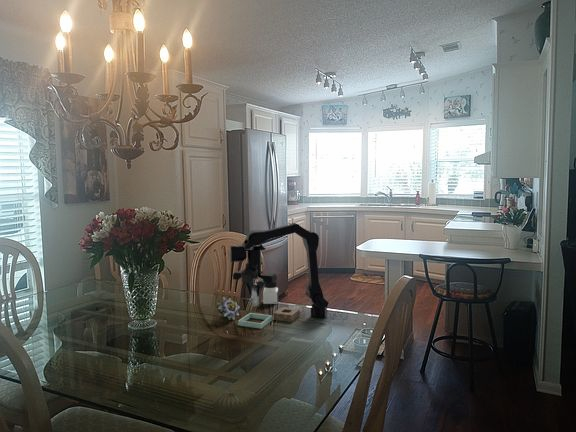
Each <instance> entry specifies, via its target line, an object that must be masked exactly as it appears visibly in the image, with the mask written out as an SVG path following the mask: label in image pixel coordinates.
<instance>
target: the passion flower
mask: <svg viewBox="0 0 576 432" xmlns="http://www.w3.org/2000/svg"><path fill="white" fill-rule="evenodd" d="M237 303H238V302H237V301H236V300H232V298H231V297H230V298H225V297H224V296H222V302H221V303H220V302H217V304H216V305H215V307H216V309H217V313H219V316H220V318H221V317H222V318H225V317H226V318H227V320H228V321H235V320H236V316H238V317H239V316H240V313H239V311H240V307H241V306H240V305H238V304H237Z"/></svg>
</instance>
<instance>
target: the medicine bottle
mask: <svg viewBox="0 0 576 432" xmlns="http://www.w3.org/2000/svg"><path fill="white" fill-rule="evenodd" d="M277 283H278V281H277V280H276V281H274V282H272V283H265V284H264V287H263V292H262V301H263V302H262V303H263V304H264V305H272V304H273V305H274V304H275V305H277V304H279V287H278V286H277ZM274 302H276V303H274Z"/></svg>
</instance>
